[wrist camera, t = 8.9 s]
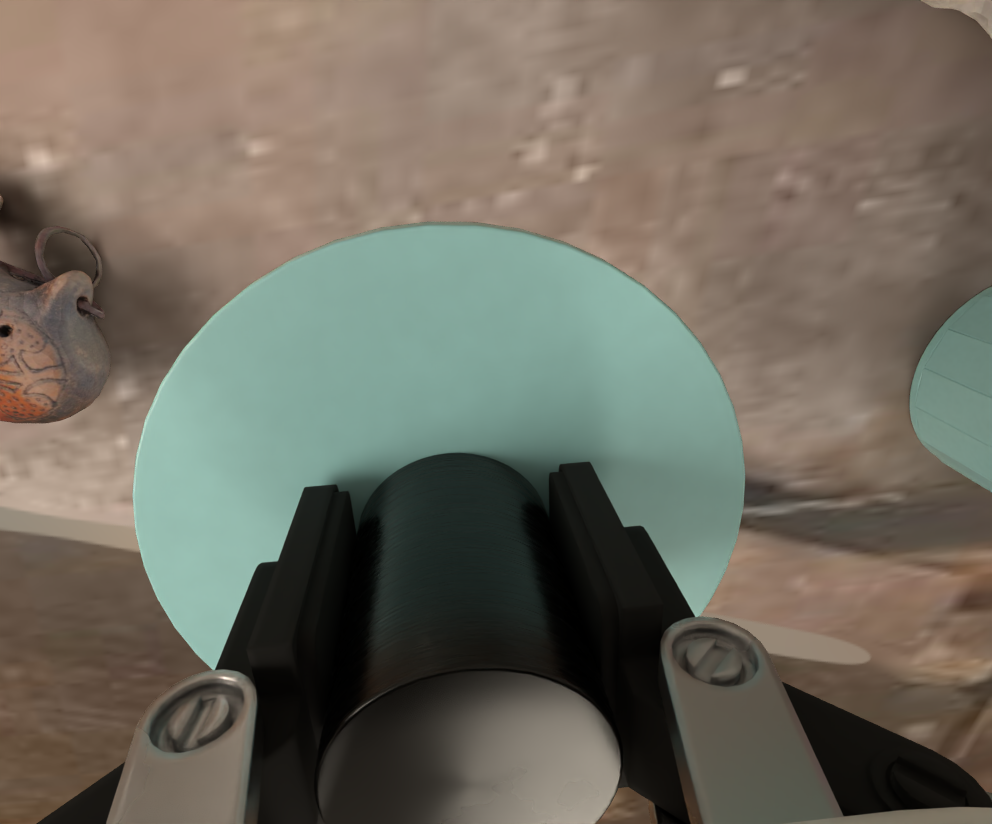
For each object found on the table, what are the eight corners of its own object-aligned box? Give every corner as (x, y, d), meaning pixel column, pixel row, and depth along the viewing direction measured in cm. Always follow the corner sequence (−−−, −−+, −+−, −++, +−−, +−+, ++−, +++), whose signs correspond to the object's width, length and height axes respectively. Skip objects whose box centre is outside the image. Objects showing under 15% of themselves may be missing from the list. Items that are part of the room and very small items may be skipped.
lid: (228, 736, 15) (105, 1101, 9) (75, 238, 10) (-362, 353, 4) (697, 680, 15) (850, 981, 10) (752, 198, 11) (1091, 253, 5)
